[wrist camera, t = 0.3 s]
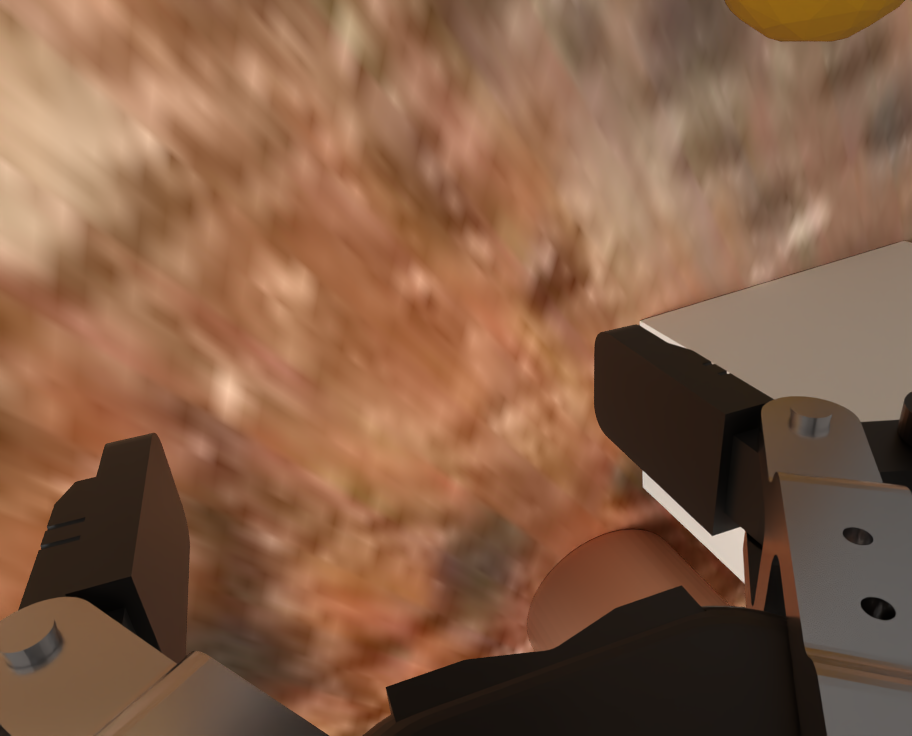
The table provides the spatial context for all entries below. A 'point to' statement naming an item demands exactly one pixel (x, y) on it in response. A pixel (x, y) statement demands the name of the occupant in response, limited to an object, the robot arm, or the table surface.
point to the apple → (810, 17)
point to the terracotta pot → (608, 584)
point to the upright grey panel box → (805, 347)
